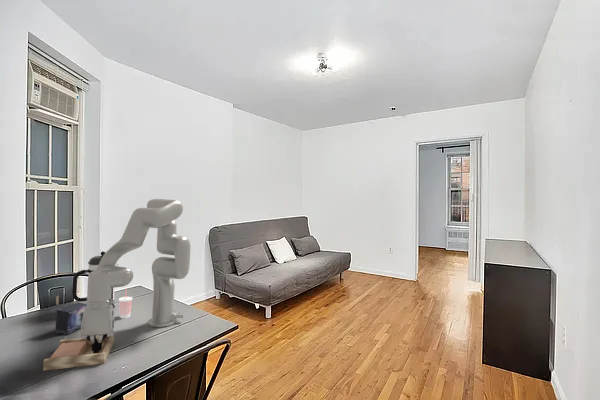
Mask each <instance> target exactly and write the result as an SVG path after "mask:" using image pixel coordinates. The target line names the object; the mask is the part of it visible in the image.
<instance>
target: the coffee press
mask: <svg viewBox="0 0 600 400" xmlns="http://www.w3.org/2000/svg"><path fill="white" fill-rule="evenodd" d="M105 253H106V251H101V252H100V253H99V254H100V255H95V256H93V257H91V258H90V259H89V261H88V262H87V264H88V268H87V269H82V270H79V271H76V273H75V275H74V276H73V279H72V292H71V293H72V299H73V300H75V301H77V302H79V303H82V302H87V296H86V297H79V296H78V293H77V292H78V291H77V290H78V279H79V277H80V276H81V275H84V274H89V273H91V272H93V271H96V270H97V267H98V265H99V263H100V261H101V259H102V257H103V255H104V254H105ZM119 265H120V263H118V262H117V263H116V265H115V266H119ZM111 299H112V300H115V288H111ZM111 305H113V309H115V308H116V306H115V303H112V304H111Z"/></svg>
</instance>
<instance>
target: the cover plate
mask: <svg viewBox="0 0 600 400" xmlns="http://www.w3.org/2000/svg"><path fill="white" fill-rule="evenodd" d="M85 350H86V341H82V342H72V343H62V344H61V345H60V344H59V346H58V347H57V348H56V349H55V351H54V352H53V353H52V355H51V356H50V357H49V358H57V357H67V356H76V355H82V354H83V353H84V351H85Z"/></svg>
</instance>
